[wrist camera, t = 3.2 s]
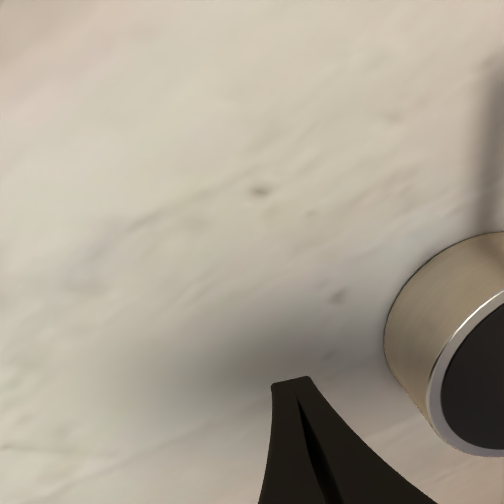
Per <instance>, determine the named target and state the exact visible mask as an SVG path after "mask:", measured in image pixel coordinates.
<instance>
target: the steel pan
mask: <svg viewBox="0 0 504 504" xmlns="http://www.w3.org/2000/svg"><path fill="white" fill-rule="evenodd" d="M384 348H385V356H386V359H387V363H388V365H389V367H390V370H391V372H392V373H393V375H394V376H395V377H396V379H397V380H398V382H399V383H400V384H401V386H402V387H403V388H404V390H405V391H406V393H407V394H408V395H409V397H410V398H411V399H412V401H413V402H414V404H415V405H416V406H417V408H418V409H419V410H420V412H421V413H422V415H423V416H424V417H425V419H426V420H427V421H428V423H429V424H430V426H431V427H432V428H433V430H434V431H435V432H436V434H437V435H438V436H439V437H440V438H441V439H442V440H443V441H444V442H446V443H447V444H449V445H450V446H452V447H453V448H455V449H457V450H459V451H462V452H464V453H467V454H471V455H475V456H482V457H504V232H498V233H491V234H484V235H480V236H477V237H473V238H470V239H467V240H465V241H462V242H460V243H457V244H455V245H454V246H452V247H450V248H448V249H446V250H444V251H443V252H441V253H440V254H438V255H437V256H435V257H434V258H432V259H431V260H430V261H429V262H428V263H426V264H425V265H424V266H423V267H422V268H421V269H420V270H419V271H418V272H417V273H416V274H415V275H414V276H413V277H412V278H411V279H410V280H409V281H408V283H407V284H406V285H405V286H404V288H403V289H402V291H401V292H400V294H399V295H398V297H397V299H396V301H395V303H394V305H393V307H392V309H391V311H390V314H389V317H388V320H387V323H386V328H385V335H384Z"/></svg>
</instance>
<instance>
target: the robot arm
mask: <svg viewBox="0 0 504 504" xmlns="http://www.w3.org/2000/svg"><path fill="white" fill-rule="evenodd" d="M270 387H271V392H272V425H271V436H270V444H269V451H268V458H267V464H266V470H265V475H264V480H263V485H262V489H261V494H260V498H259V502H258V504H437V503H436V502H435V501H433V500H432V499H431V498H429V497H428V496H427V495H425V494H424V493H423V492H421V491H420V490H419V489H417V488H416V487H415V486H413V485H412V484H411V483H410V482H408V481H407V480H406V479H405V478H404V477H402V476H401V475H400V474H399V473H398V472H396V471H395V470H394V469H393V468H392V467H390V466H389V465H388V464H387V463H386V462H385V461H384V460H383V459H381V458H380V457H379V456H378V455H377V454H376V453H375V452H374V451H373V450H372V449H371V448H370V447H369V446H368V445H367V444H366V443H365V442H364V441H363V440H362V439H361V438H360V437H359V436H358V435H357V434H356V433H355V432H354V431H353V430H352V429H351V428H350V427H349V426H348V425H347V424H346V423H345V421H344V420H343V419H342V418H341V417H340V416H339V415H338V414H337V412H336V411H335V410H334V409H333V408H332V407H331V405H330V404H329V403H328V402H327V400H326V399H325V398H324V397H323V395H322V394H321V393H320V391H319V390H318V389H317V387H316V386H315V384H314V383H313V381H312V380H311V378H310V377H308V376H304V377H299V378H295V379H290V380H285V381H281V382H276V383H273V384H272V385H271V386H270Z"/></svg>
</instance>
